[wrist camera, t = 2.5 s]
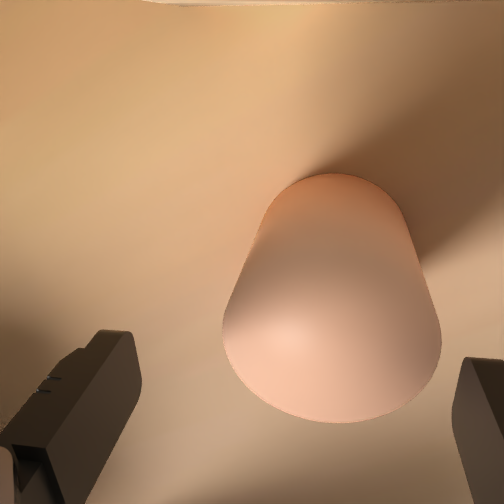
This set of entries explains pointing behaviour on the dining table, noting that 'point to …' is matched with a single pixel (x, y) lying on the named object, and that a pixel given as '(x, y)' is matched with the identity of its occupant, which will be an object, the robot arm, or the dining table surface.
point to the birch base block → (275, 2)
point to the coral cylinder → (333, 305)
